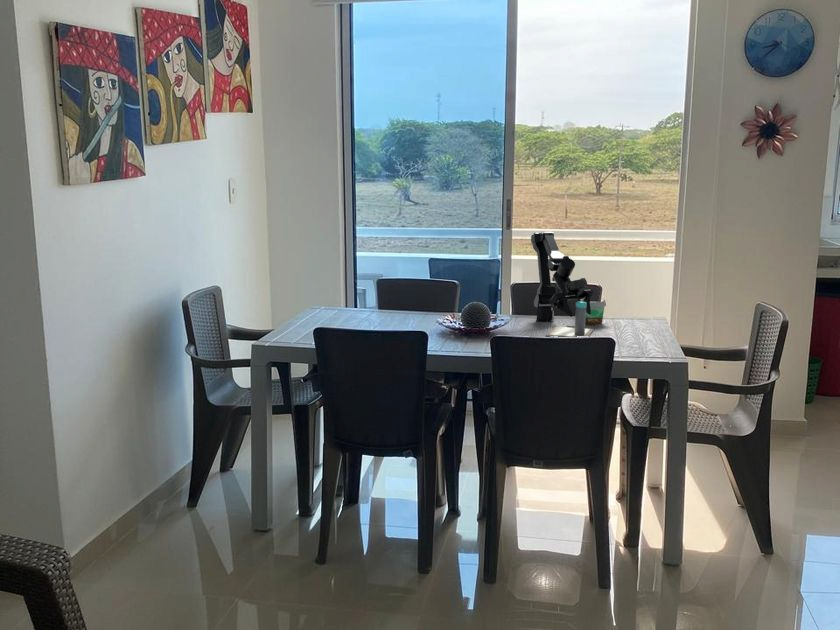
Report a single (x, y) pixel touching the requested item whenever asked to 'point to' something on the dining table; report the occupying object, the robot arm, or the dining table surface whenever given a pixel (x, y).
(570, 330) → the clipboard
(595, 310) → the food container
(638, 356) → the dining table surface
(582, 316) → the marker
